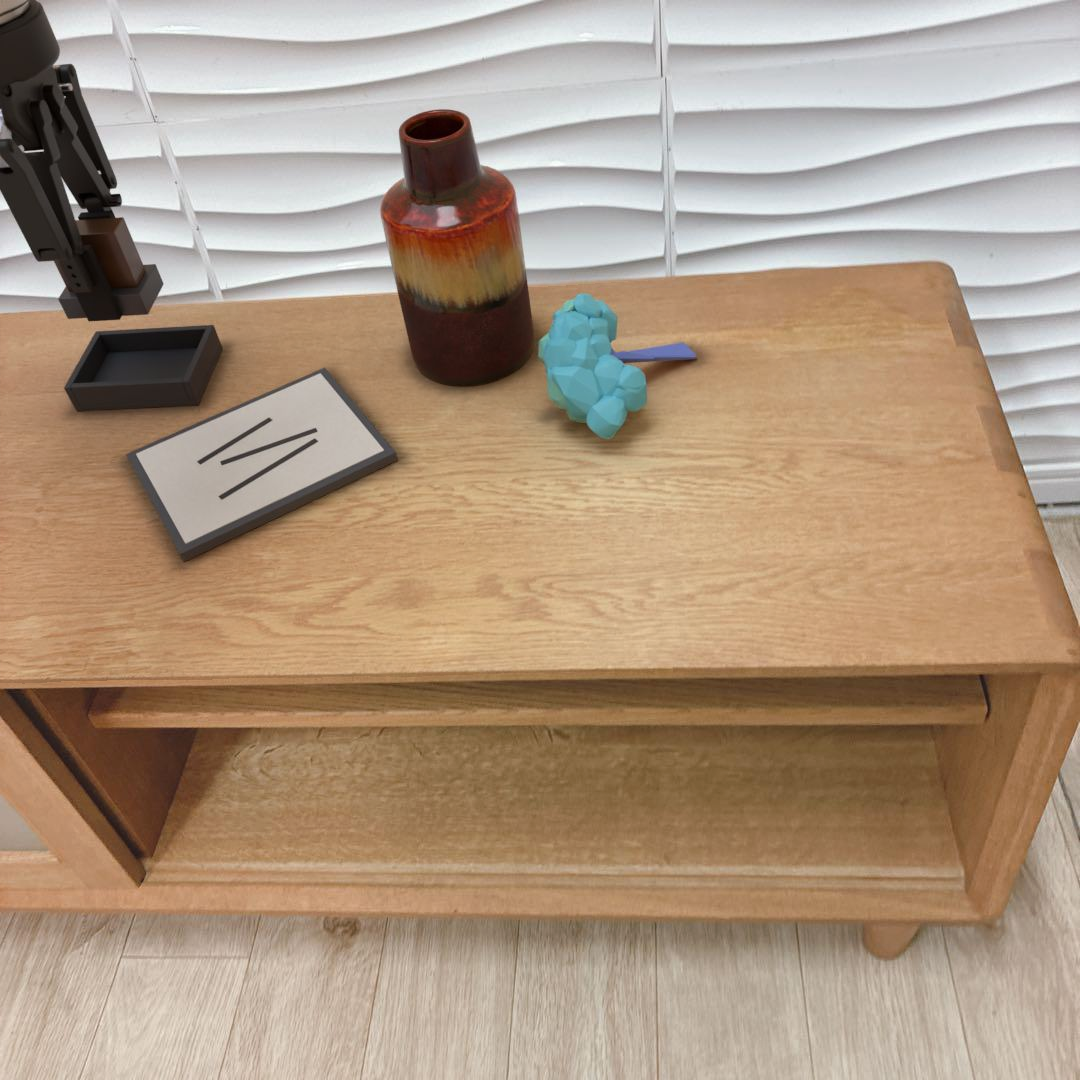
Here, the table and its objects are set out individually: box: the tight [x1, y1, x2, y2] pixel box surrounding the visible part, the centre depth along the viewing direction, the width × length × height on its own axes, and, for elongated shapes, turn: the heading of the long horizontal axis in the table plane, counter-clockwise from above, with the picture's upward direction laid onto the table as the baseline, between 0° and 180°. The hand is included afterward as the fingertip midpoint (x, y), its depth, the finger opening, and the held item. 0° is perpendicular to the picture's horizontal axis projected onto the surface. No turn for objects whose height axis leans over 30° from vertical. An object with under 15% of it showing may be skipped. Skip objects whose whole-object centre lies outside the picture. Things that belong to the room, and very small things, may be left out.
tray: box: [63, 324, 223, 412], centre depth 95 cm, size 11×8×3 cm
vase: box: [379, 108, 535, 387], centre depth 87 cm, size 11×11×20 cm
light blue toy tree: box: [524, 292, 697, 440], centre depth 87 cm, size 11×9×15 cm
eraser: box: [53, 216, 164, 320], centre depth 88 cm, size 7×4×7 cm, turn 87°
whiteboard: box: [125, 367, 399, 562], centre depth 87 cm, size 18×14×1 cm
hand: (115, 299), depth 90 cm, fingers closed on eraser, 4 cm apart
